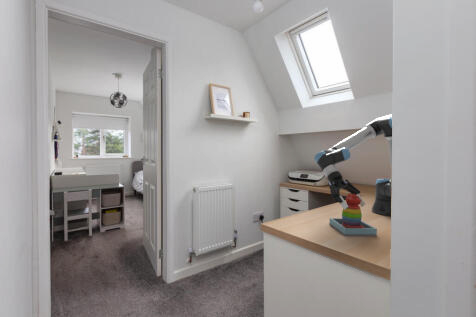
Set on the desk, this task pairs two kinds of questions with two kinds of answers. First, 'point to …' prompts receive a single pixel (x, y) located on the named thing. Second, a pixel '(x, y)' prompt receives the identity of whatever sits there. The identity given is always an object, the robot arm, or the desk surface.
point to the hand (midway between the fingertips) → (355, 206)
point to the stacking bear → (352, 212)
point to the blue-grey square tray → (365, 231)
